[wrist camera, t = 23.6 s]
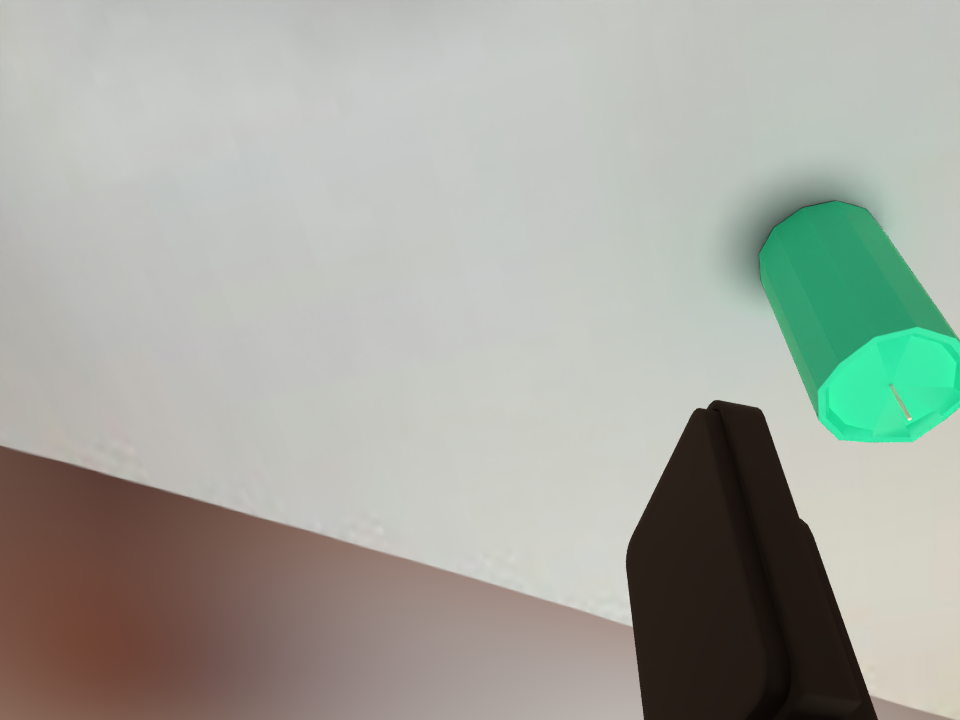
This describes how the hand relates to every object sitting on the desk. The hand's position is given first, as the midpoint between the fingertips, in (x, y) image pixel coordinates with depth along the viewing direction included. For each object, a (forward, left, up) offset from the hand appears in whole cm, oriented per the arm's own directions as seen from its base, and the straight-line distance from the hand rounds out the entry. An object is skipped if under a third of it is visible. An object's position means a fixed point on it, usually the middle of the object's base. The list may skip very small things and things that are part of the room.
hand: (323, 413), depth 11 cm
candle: (+20, -10, -28) cm, 36 cm away
